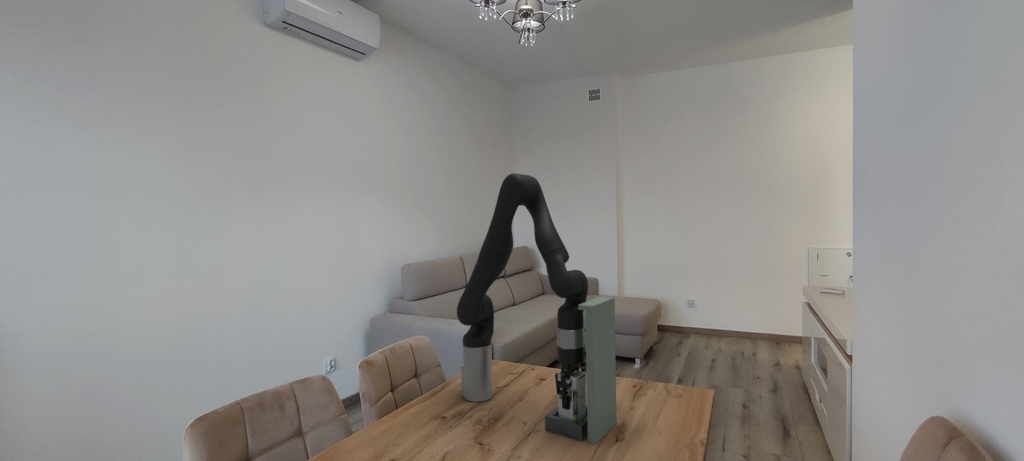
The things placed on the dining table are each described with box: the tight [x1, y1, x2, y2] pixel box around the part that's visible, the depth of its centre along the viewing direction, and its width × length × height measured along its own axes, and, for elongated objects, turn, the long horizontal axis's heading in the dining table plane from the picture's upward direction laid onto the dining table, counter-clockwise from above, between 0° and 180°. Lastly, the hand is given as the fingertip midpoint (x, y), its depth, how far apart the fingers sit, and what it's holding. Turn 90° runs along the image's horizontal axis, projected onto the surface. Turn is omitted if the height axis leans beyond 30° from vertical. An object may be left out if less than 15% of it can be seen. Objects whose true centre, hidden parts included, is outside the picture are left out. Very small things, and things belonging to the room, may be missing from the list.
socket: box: [544, 405, 588, 442], centre depth 124 cm, size 11×11×4 cm
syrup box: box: [558, 372, 587, 422], centre depth 124 cm, size 6×6×14 cm
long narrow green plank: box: [578, 295, 618, 445], centre depth 121 cm, size 4×14×35 cm, turn 145°
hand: (571, 404), depth 124 cm, fingers closed on syrup box, 6 cm apart
